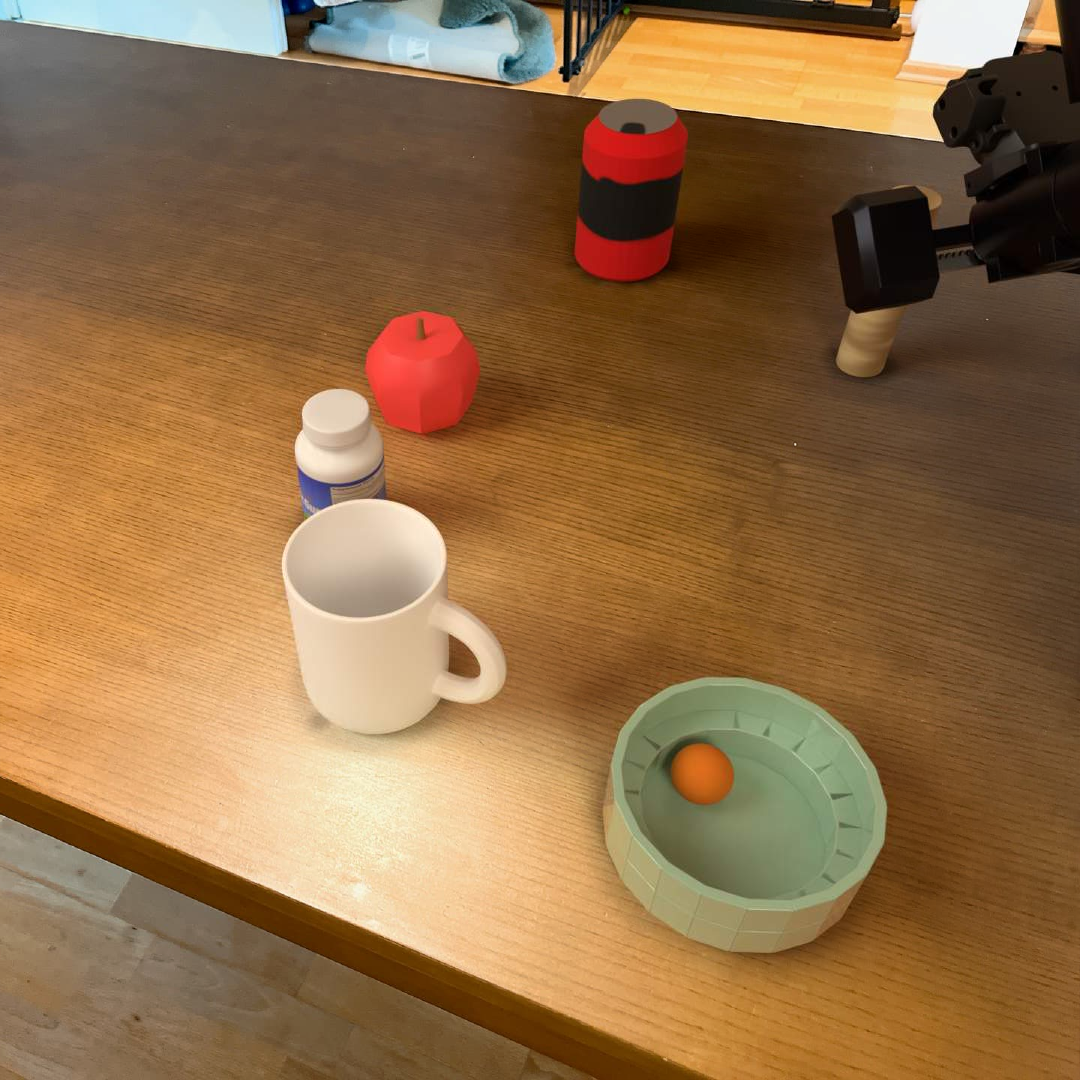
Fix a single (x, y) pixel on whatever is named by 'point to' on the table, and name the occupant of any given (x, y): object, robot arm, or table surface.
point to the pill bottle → (338, 452)
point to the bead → (702, 774)
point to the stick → (875, 325)
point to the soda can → (629, 189)
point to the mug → (380, 618)
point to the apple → (422, 372)
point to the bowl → (744, 815)
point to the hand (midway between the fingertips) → (919, 264)
